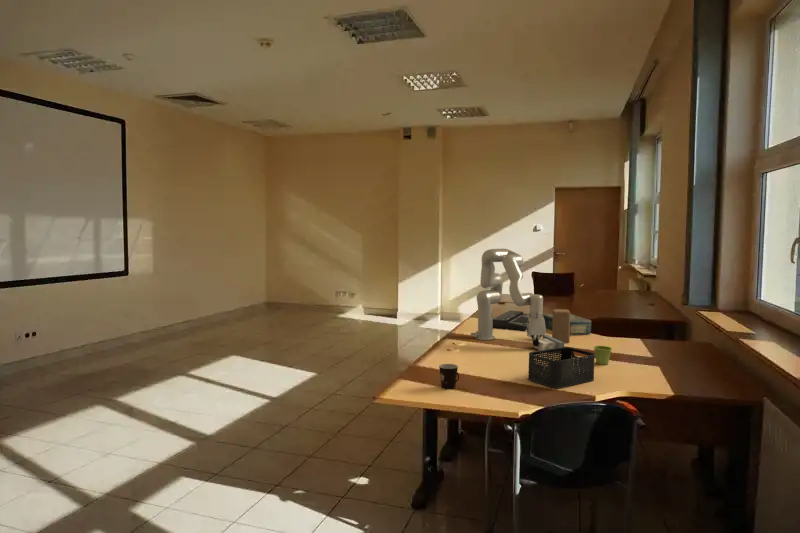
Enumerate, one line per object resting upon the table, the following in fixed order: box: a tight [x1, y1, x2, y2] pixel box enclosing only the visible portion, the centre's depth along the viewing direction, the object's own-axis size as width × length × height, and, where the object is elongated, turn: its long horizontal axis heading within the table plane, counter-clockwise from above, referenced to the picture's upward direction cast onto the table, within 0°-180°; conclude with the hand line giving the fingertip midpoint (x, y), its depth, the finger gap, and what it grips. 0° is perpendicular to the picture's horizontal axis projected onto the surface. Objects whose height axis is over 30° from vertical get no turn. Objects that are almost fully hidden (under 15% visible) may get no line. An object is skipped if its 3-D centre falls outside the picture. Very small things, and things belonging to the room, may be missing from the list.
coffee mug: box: [438, 363, 460, 390], centre depth 249 cm, size 12×9×10 cm
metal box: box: [543, 313, 592, 337], centre depth 378 cm, size 21×32×10 cm, turn 10°
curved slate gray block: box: [541, 334, 565, 352], centre depth 326 cm, size 3×22×6 cm, turn 11°
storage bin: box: [527, 346, 596, 389], centre depth 262 cm, size 29×19×13 cm
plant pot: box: [593, 345, 613, 366], centre depth 292 cm, size 9×9×9 cm
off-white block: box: [533, 338, 556, 351], centre depth 325 cm, size 8×12×5 cm, turn 11°
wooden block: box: [551, 308, 571, 344], centre depth 345 cm, size 10×10×20 cm
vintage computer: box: [493, 310, 529, 332], centre depth 401 cm, size 43×29×8 cm
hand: (535, 345), depth 323 cm, fingers closed
